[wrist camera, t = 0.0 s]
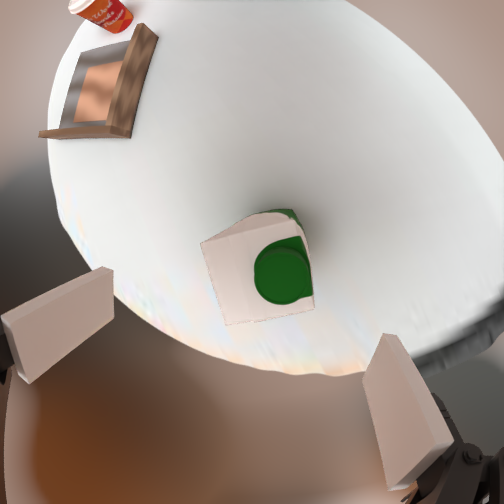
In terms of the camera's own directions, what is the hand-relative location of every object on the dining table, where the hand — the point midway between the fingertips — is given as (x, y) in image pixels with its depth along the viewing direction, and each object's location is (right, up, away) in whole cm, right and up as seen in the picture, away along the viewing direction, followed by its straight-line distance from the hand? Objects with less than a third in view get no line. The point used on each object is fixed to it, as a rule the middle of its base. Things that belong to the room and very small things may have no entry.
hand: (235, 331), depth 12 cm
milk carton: (+4, +5, +27) cm, 28 cm away
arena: (-27, +34, +26) cm, 51 cm away
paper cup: (-25, +49, +22) cm, 60 cm away
